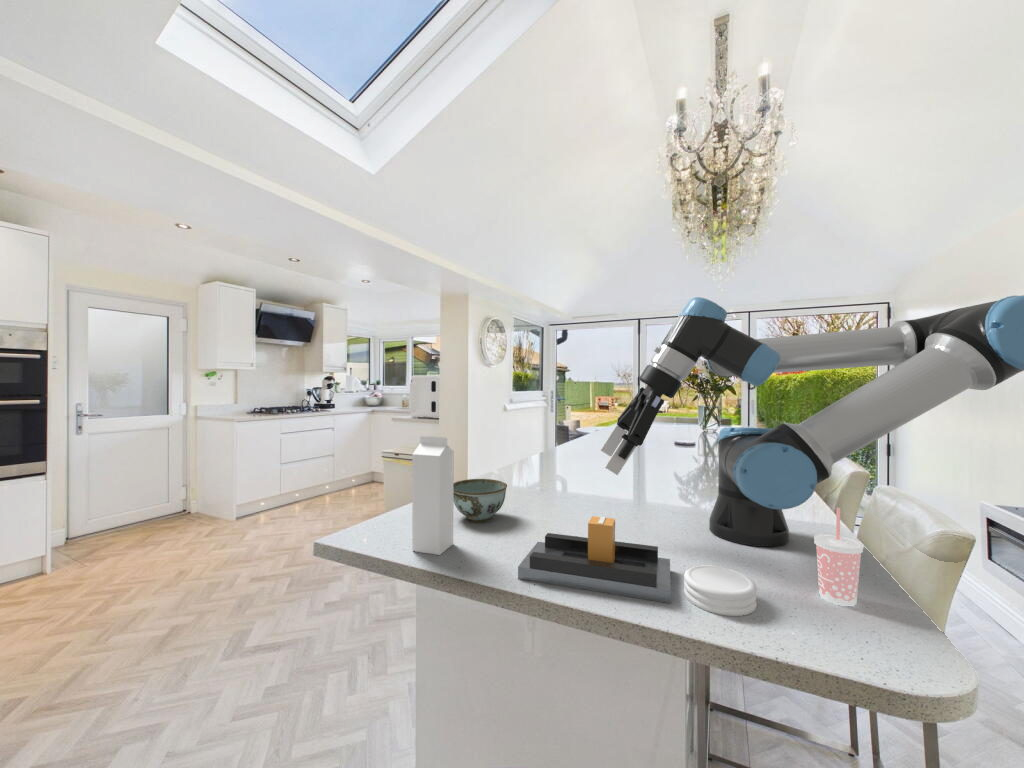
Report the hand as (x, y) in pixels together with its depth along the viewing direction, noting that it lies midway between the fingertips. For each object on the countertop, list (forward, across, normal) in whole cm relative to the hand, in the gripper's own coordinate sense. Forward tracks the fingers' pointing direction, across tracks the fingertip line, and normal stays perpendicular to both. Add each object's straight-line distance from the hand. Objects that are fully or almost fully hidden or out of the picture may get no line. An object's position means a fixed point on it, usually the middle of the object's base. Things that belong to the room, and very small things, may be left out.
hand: (608, 461), depth 90 cm
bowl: (+30, -10, -16) cm, 36 cm away
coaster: (+6, +22, +21) cm, 31 cm away
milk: (+31, +9, -21) cm, 39 cm away
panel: (+15, +16, +5) cm, 23 cm away
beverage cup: (-4, +20, +36) cm, 41 cm away
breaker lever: (+12, +17, +5) cm, 21 cm away
